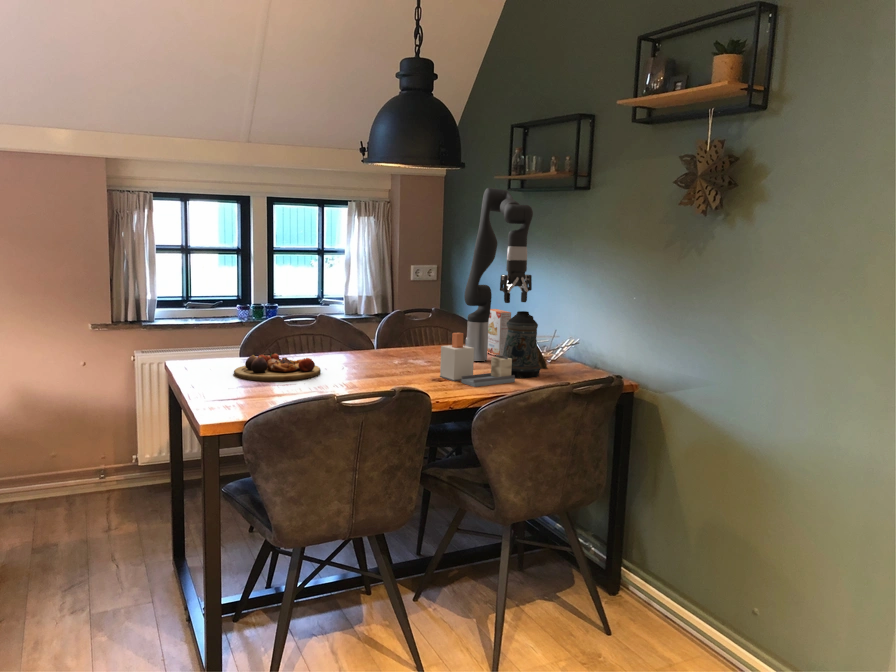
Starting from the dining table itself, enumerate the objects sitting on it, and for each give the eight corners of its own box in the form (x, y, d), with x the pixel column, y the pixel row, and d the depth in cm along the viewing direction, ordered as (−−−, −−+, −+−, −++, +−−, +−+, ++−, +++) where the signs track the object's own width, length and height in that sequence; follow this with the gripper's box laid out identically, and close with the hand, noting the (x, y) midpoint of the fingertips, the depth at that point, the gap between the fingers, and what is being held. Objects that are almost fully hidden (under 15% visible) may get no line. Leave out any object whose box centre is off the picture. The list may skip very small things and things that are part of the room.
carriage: (490, 375, 266) (491, 355, 265) (500, 374, 269) (501, 354, 268) (501, 378, 261) (501, 357, 260) (511, 377, 264) (512, 356, 263)
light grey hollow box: (439, 376, 269) (440, 346, 268) (459, 374, 275) (460, 344, 273) (453, 381, 262) (454, 349, 260) (473, 379, 267) (474, 348, 266)
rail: (461, 382, 260) (461, 376, 259) (501, 378, 271) (501, 371, 270) (474, 386, 253) (474, 380, 253) (514, 382, 264) (514, 375, 264)
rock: (514, 359, 300) (524, 360, 290) (525, 343, 302) (535, 343, 292) (533, 374, 303) (543, 375, 293) (544, 358, 304) (554, 359, 295)
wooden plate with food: (338, 374, 271) (338, 352, 270) (274, 386, 245) (274, 362, 244) (281, 365, 289) (280, 345, 288) (215, 375, 263) (215, 353, 262)
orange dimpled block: (451, 356, 267) (452, 332, 266) (458, 355, 269) (458, 332, 268) (456, 357, 265) (457, 333, 264) (462, 356, 267) (463, 333, 266)
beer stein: (498, 377, 272) (501, 313, 268) (498, 368, 291) (500, 308, 288) (541, 379, 271) (544, 315, 268) (538, 370, 290) (541, 309, 287)
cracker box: (483, 353, 329) (485, 308, 326) (495, 352, 332) (496, 308, 329) (498, 358, 316) (500, 312, 314) (510, 357, 319) (511, 311, 316)
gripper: (523, 259, 268) (521, 301, 270) (495, 258, 259) (494, 302, 261) (537, 259, 262) (536, 302, 264) (510, 259, 254) (508, 303, 255)
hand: (515, 302), depth 263 cm, fingers open, 8 cm apart
